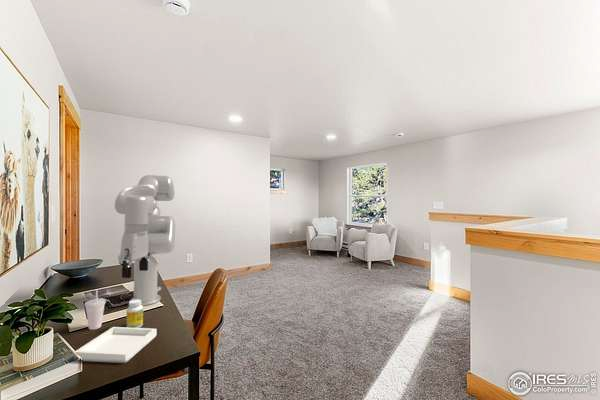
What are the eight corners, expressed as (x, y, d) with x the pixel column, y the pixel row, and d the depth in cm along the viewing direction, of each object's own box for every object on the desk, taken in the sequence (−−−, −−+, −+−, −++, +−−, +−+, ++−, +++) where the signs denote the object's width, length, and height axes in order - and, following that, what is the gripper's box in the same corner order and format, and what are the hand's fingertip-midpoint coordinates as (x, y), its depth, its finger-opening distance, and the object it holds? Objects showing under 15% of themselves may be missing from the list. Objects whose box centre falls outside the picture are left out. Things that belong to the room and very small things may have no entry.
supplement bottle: (132, 322, 106) (132, 298, 106) (145, 323, 106) (146, 298, 106) (123, 329, 100) (123, 303, 100) (137, 329, 100) (138, 304, 100)
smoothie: (93, 332, 98) (94, 293, 98) (79, 330, 99) (80, 292, 99) (109, 324, 104) (110, 287, 104) (95, 322, 105) (96, 286, 105)
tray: (112, 333, 97) (113, 326, 97) (156, 335, 96) (156, 328, 96) (73, 360, 81) (73, 352, 81) (125, 363, 80) (125, 354, 80)
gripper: (141, 226, 111) (140, 267, 111) (109, 231, 94) (108, 280, 94) (158, 226, 111) (158, 268, 111) (130, 231, 94) (129, 281, 94)
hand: (135, 273), depth 103 cm, fingers open, 9 cm apart
